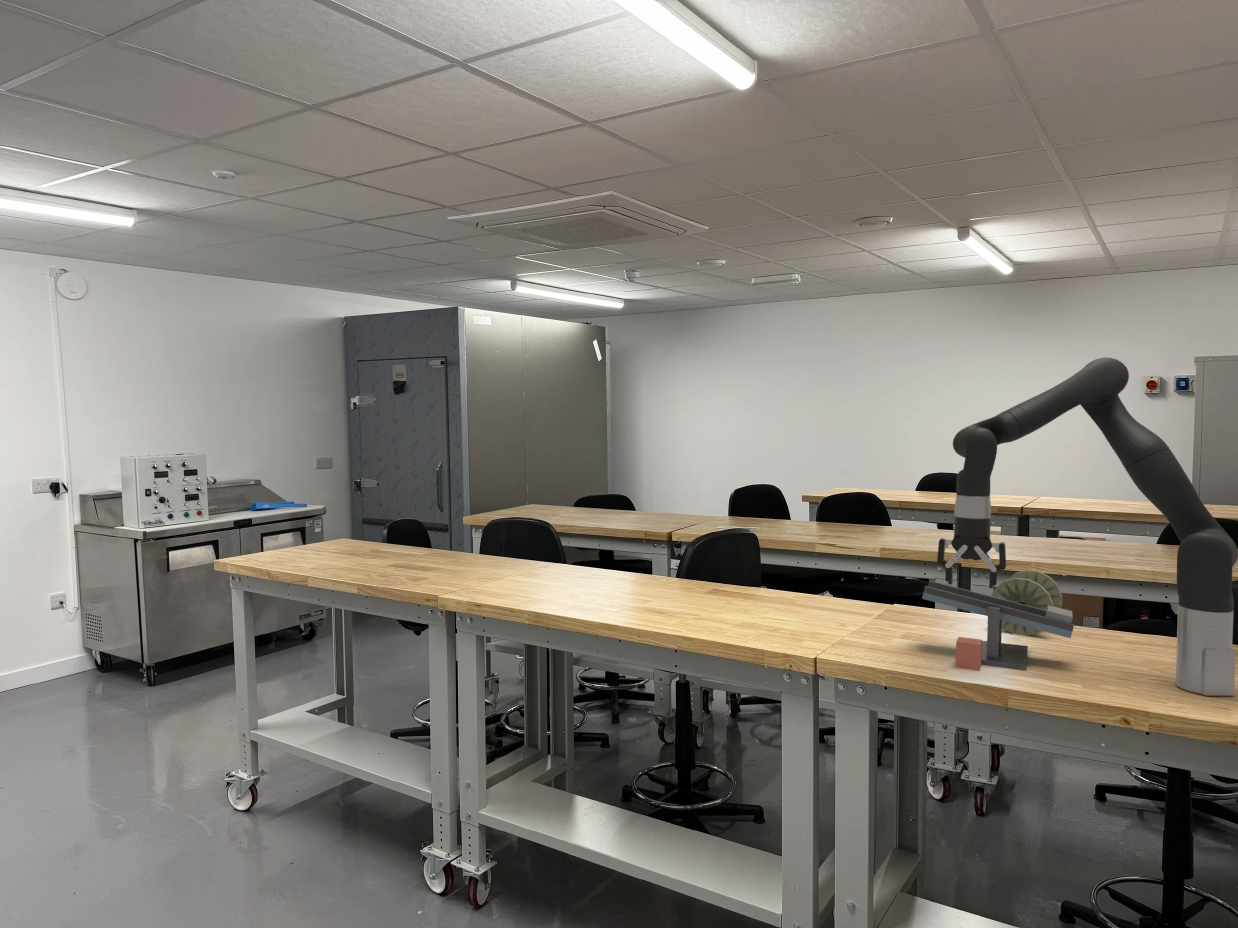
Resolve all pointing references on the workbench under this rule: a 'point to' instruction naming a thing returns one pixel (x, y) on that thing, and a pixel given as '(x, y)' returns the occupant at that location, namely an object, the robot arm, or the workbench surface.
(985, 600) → the balance beam
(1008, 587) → the spool
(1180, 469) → the robot arm
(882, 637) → the workbench surface
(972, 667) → the block
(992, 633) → the pivot stand
